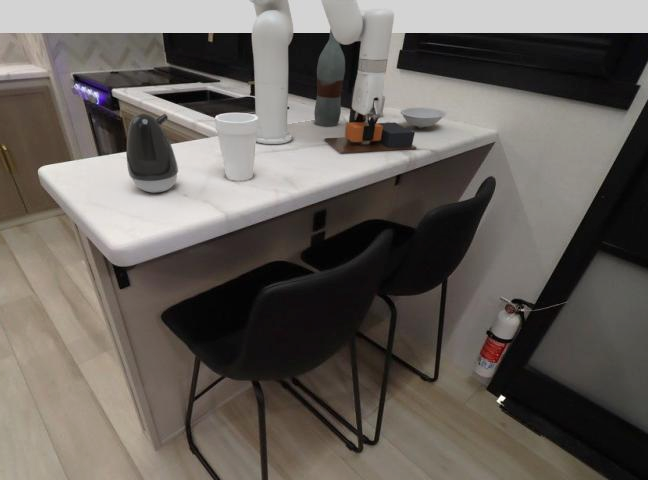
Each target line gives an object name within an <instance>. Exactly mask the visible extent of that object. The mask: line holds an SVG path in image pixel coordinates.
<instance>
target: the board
mask: <svg viewBox="0 0 648 480" xmlns="http://www.w3.org/2000/svg"><path fill="white" fill-rule="evenodd" d="M324 141H325V142H326V143H327V144H329V145H330V146H331V147H332V148H333V149H334V150H336V151H338V153H339V154H342V155H343V154H345V155H346V154H362V153H376V152H377V153H378V152H392V151H393V152H394V151H410V150H411V151H412V150H417V146H415V145H413V144H412V146H410V147H393V148H387V147H386V146H384V145H383V144H381V143H379V142H378V141H365V142H352V141H350V140H349V139H348V138H346V137H345V136H342V137H339V136H338V137H325V138H324Z"/></svg>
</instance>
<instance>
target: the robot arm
mask: <svg viewBox="0 0 648 480" xmlns="http://www.w3.org/2000/svg"><path fill="white" fill-rule="evenodd" d="M249 1H250V3H253V6H254V11H255V15H256V18H255V20H254V22H253V25H252V29H251V30H252V31H251V47H252V54H253V55H252V56H253V71H254V72H253V73H254V104H255V105H254V106H255V107H254V110H255V116H257V117H258V131H257V136H256V143H259V144H265V145H266V144H267V145H279V144H280V145H281V144H287V143H289V142H291V141H292V139H293V135H292V133H290V132H288V109H289V107H288V102H289V46H290V44H291V42H292V40H293V37H294V24H293V18H292V13H291V7H290V4H289V0H249ZM320 2H321V4H322V7H323V10H324V13H325V15H326V16H325V17H326V19H327V21H328V25H329V29H330V28H331V31H332V33H333V36H334V38H335V39H336V40H337V41H338V42H339V44H340V45H345V46H346V45H347V46H348V45H351V44H353V43H355V42H360V47H359V57H358V65H357V74H356V77H355V78H356V79H355V81H354V82H355V83H354V86H355V87H354V93H353V100H352V99H351V100H352V108H353V110H355V117H354V119H355V122H366V126H364V131H363V138H362V140H363V141H369V140H373V137H374V130H375V126H376V123H378V121H379V119H380V118H381V117H380V115H381V114H380V109H381V104H382V97H383V96H384V87H385V75H386V74H387V67H388V61H389V60H388V59H389V53H390V46H391V40H392V33H393V26H394V19H395V14H394V12H393V11H392V10H391V9H387V8H370V9H360V8H359V5H358V2H357V0H320ZM369 112H371V113H372V114H369ZM365 115H366V121H365V120H363V119H364V117H365ZM372 116H373V117H372Z"/></svg>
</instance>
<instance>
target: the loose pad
mask: <svg viewBox="0 0 648 480" xmlns="http://www.w3.org/2000/svg"><path fill="white" fill-rule="evenodd" d="M378 123H379V122H376V126H375V130H374V137H373V140H369V141H381V136H382V129H383V126H382V125H380V124H378ZM364 126H366V121H365V122H350V123H349V122H346V124H345V133H344V137H346V138H348V139H349V140H350V141H352V142H365V141H363V140H362V138H363V131H364Z"/></svg>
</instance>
